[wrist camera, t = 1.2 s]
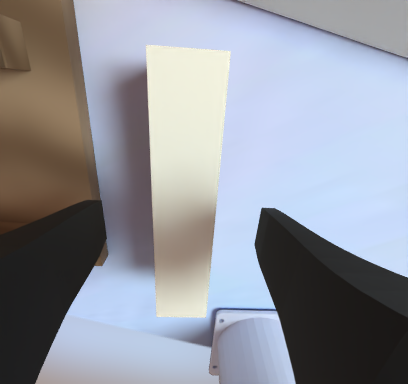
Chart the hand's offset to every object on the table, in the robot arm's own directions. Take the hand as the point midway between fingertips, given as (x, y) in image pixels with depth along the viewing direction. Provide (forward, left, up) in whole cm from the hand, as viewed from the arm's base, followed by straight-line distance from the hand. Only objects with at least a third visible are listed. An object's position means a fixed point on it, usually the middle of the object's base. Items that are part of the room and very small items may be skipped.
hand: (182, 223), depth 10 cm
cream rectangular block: (0, 0, -6) cm, 6 cm away
